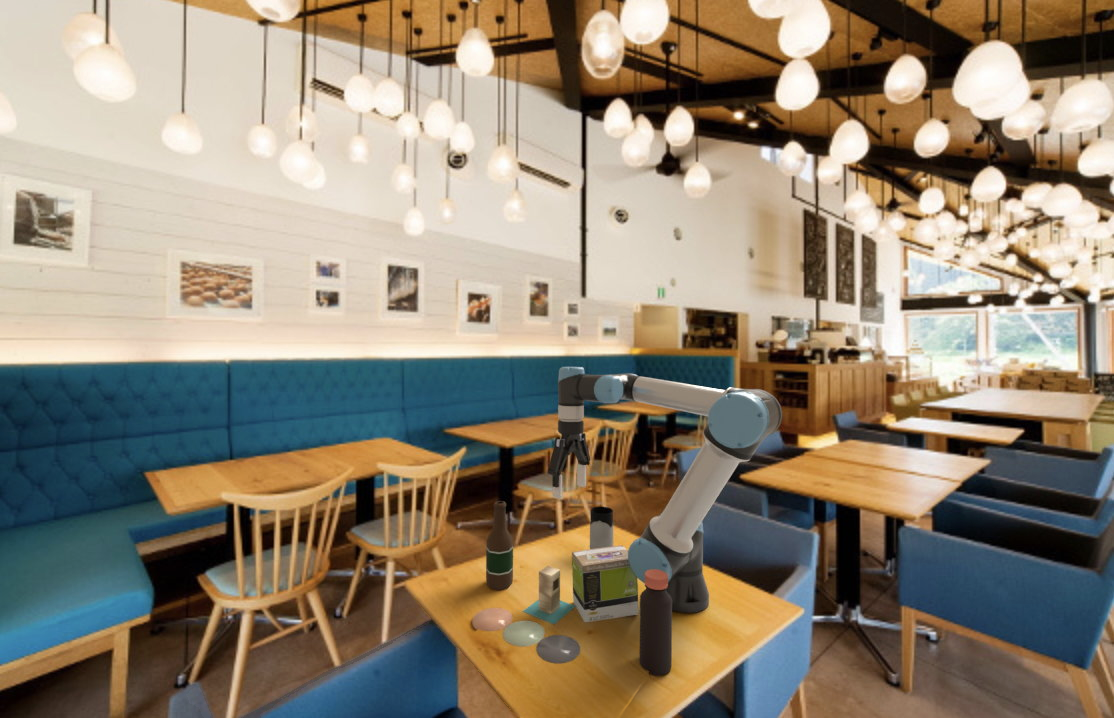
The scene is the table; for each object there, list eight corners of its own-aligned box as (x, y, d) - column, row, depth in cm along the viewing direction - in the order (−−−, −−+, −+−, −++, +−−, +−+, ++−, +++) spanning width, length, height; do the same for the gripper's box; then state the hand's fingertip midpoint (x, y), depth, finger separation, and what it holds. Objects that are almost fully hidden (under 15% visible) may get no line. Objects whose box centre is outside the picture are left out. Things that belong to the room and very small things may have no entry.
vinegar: (644, 677, 96) (645, 582, 96) (635, 656, 103) (636, 567, 102) (676, 675, 97) (677, 581, 96) (665, 654, 103) (666, 566, 103)
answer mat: (575, 608, 122) (575, 606, 122) (554, 626, 113) (554, 624, 113) (545, 596, 127) (545, 594, 127) (522, 613, 119) (522, 611, 119)
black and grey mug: (585, 558, 151) (586, 513, 151) (594, 541, 165) (594, 499, 165) (612, 562, 149) (612, 516, 149) (618, 544, 162) (619, 502, 162)
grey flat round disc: (588, 647, 106) (588, 644, 106) (564, 672, 97) (564, 669, 97) (552, 632, 111) (552, 629, 111) (527, 654, 103) (527, 651, 103)
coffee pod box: (624, 597, 128) (623, 543, 128) (639, 616, 118) (638, 558, 118) (572, 605, 124) (571, 549, 124) (583, 625, 114) (582, 564, 114)
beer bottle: (518, 583, 135) (518, 501, 134) (498, 593, 129) (499, 508, 128) (500, 574, 140) (500, 496, 139) (480, 584, 134) (480, 502, 133)
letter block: (560, 607, 121) (560, 569, 121) (551, 614, 118) (551, 575, 117) (547, 602, 123) (547, 565, 123) (538, 609, 120) (538, 571, 120)
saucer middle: (552, 632, 111) (552, 629, 111) (527, 654, 103) (527, 651, 103) (520, 618, 117) (520, 616, 117) (494, 638, 109) (494, 636, 109)
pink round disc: (520, 618, 117) (520, 616, 117) (494, 638, 109) (494, 636, 109) (491, 606, 123) (491, 603, 122) (464, 624, 114) (464, 621, 114)
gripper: (580, 413, 147) (580, 479, 147) (535, 423, 126) (534, 500, 126) (601, 415, 143) (600, 483, 143) (558, 426, 122) (557, 506, 122)
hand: (569, 491), depth 135 cm, fingers open, 13 cm apart
